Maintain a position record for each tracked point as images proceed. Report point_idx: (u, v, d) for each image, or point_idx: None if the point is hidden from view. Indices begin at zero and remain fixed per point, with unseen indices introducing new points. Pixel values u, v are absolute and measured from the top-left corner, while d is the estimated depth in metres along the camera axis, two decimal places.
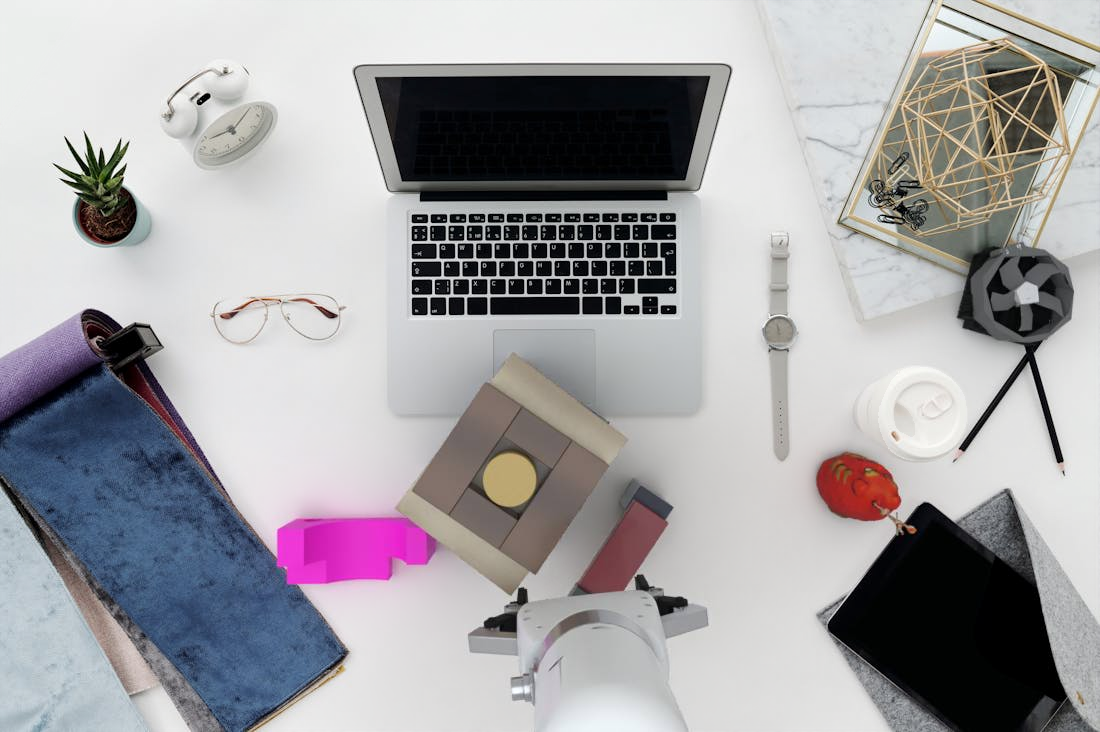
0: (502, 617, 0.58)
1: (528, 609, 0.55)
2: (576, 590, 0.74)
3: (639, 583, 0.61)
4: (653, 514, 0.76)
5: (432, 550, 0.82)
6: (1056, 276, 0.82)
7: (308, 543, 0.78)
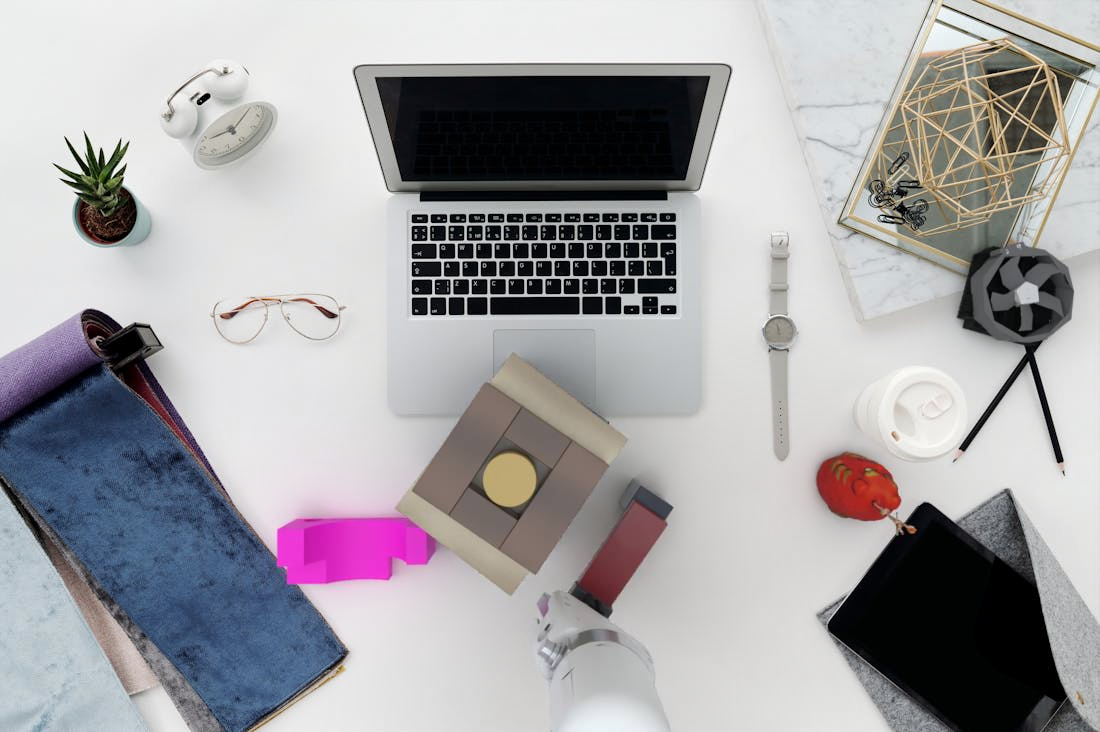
0: None
1: (566, 597, 0.65)
2: (575, 589, 0.75)
3: (597, 606, 0.73)
4: (652, 515, 0.76)
5: (432, 550, 0.82)
6: (1056, 276, 0.82)
7: (308, 543, 0.78)
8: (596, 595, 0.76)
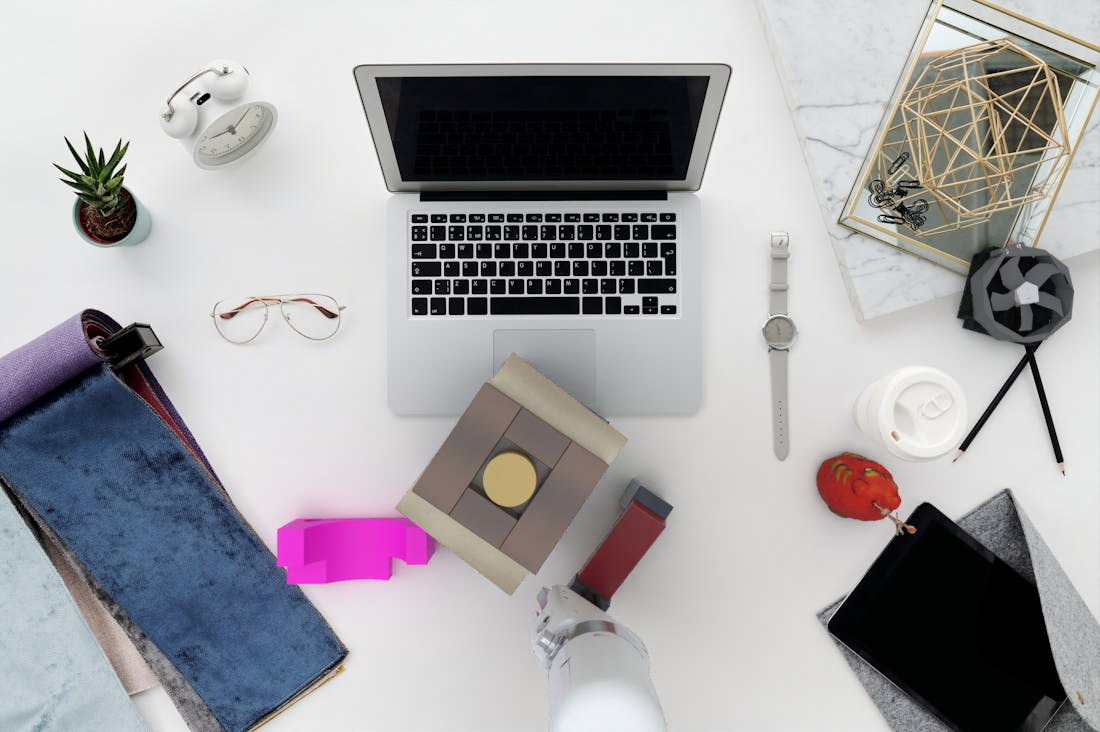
0: None
1: (564, 590, 0.68)
2: (573, 584, 0.78)
3: (595, 600, 0.75)
4: (650, 518, 0.76)
5: (432, 550, 0.82)
6: (1056, 276, 0.82)
7: (308, 543, 0.78)
8: (595, 589, 0.78)
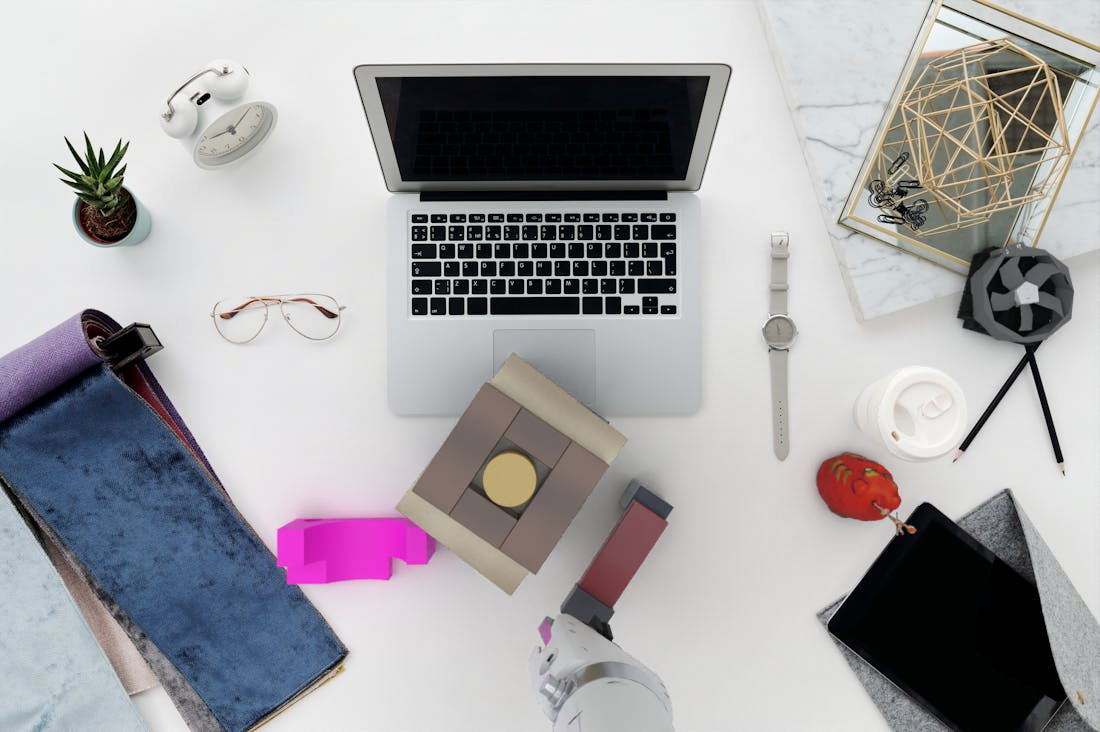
0: None
1: (571, 622, 0.58)
2: (576, 590, 0.74)
3: (605, 630, 0.65)
4: (653, 514, 0.76)
5: (432, 550, 0.82)
6: (1056, 276, 0.82)
7: (308, 543, 0.78)
8: (597, 596, 0.75)
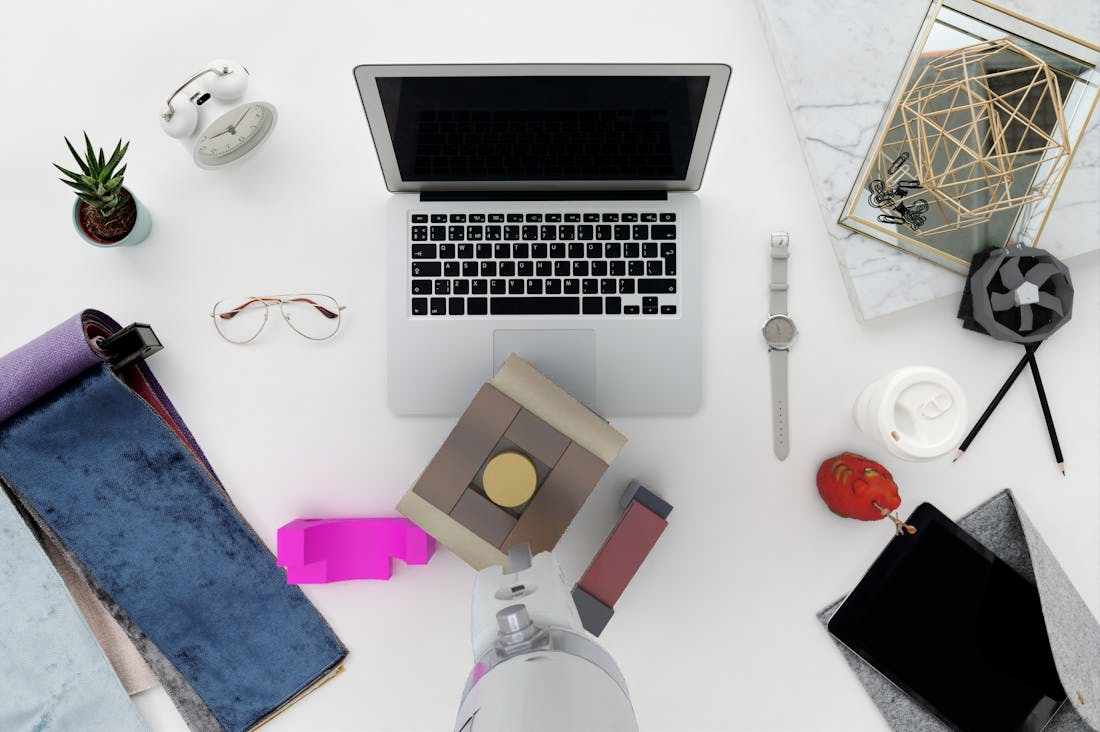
0: None
1: (560, 569, 0.41)
2: (576, 590, 0.74)
3: None
4: (653, 514, 0.76)
5: (432, 550, 0.82)
6: (1056, 276, 0.82)
7: (308, 543, 0.78)
8: (597, 596, 0.75)
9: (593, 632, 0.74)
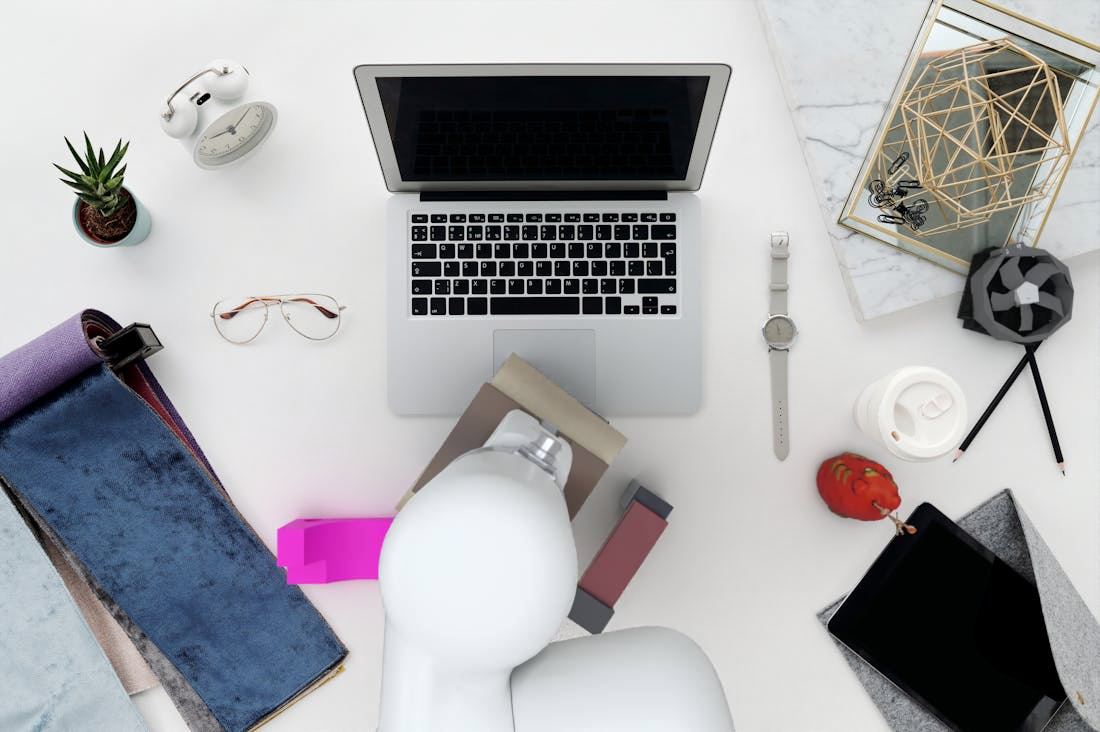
0: None
1: None
2: (576, 590, 0.74)
3: None
4: (653, 514, 0.76)
5: None
6: (1056, 276, 0.82)
7: (308, 543, 0.78)
8: (597, 596, 0.75)
9: (593, 632, 0.74)
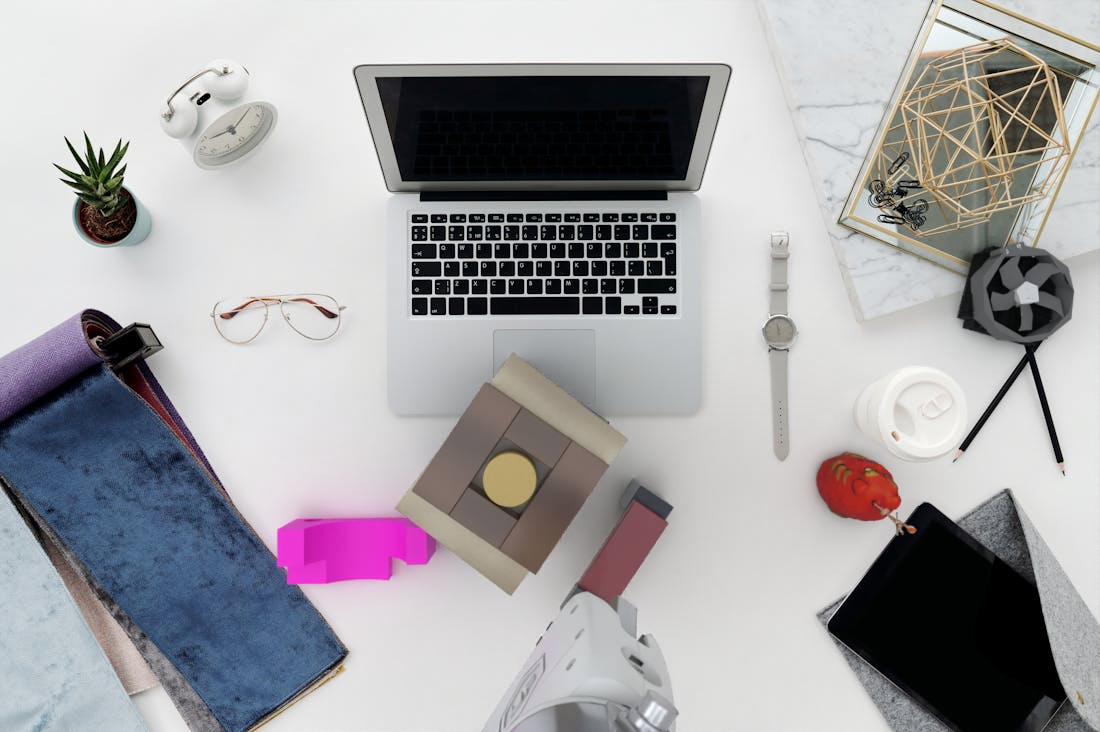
0: None
1: None
2: (576, 590, 0.74)
3: None
4: (653, 514, 0.76)
5: (432, 550, 0.82)
6: (1056, 276, 0.82)
7: (308, 543, 0.78)
8: (597, 596, 0.75)
9: None
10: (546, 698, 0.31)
